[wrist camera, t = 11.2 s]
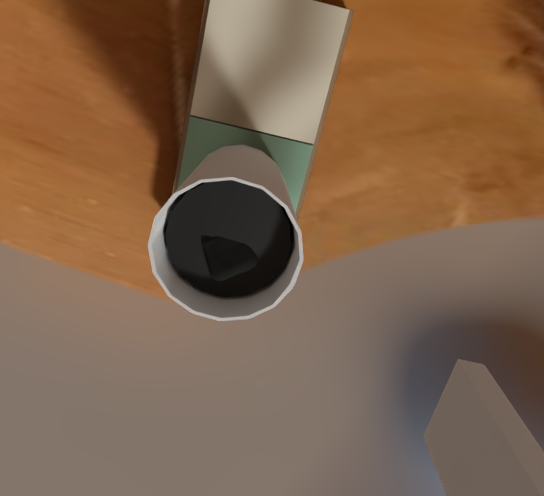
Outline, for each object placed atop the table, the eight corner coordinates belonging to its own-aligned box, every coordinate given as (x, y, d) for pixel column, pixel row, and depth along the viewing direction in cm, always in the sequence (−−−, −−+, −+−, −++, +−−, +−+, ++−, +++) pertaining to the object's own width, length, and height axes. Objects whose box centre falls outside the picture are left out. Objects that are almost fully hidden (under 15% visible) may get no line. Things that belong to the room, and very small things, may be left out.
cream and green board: (171, 221, 34) (164, 233, 32) (213, -23, 29) (209, -29, 26) (286, 246, 35) (287, 259, 32) (348, 13, 29) (355, 10, 27)
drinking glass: (305, 227, 32) (320, 300, 22) (204, 254, 32) (179, 336, 23) (276, 122, 29) (280, 156, 20) (168, 154, 30) (123, 201, 21)
